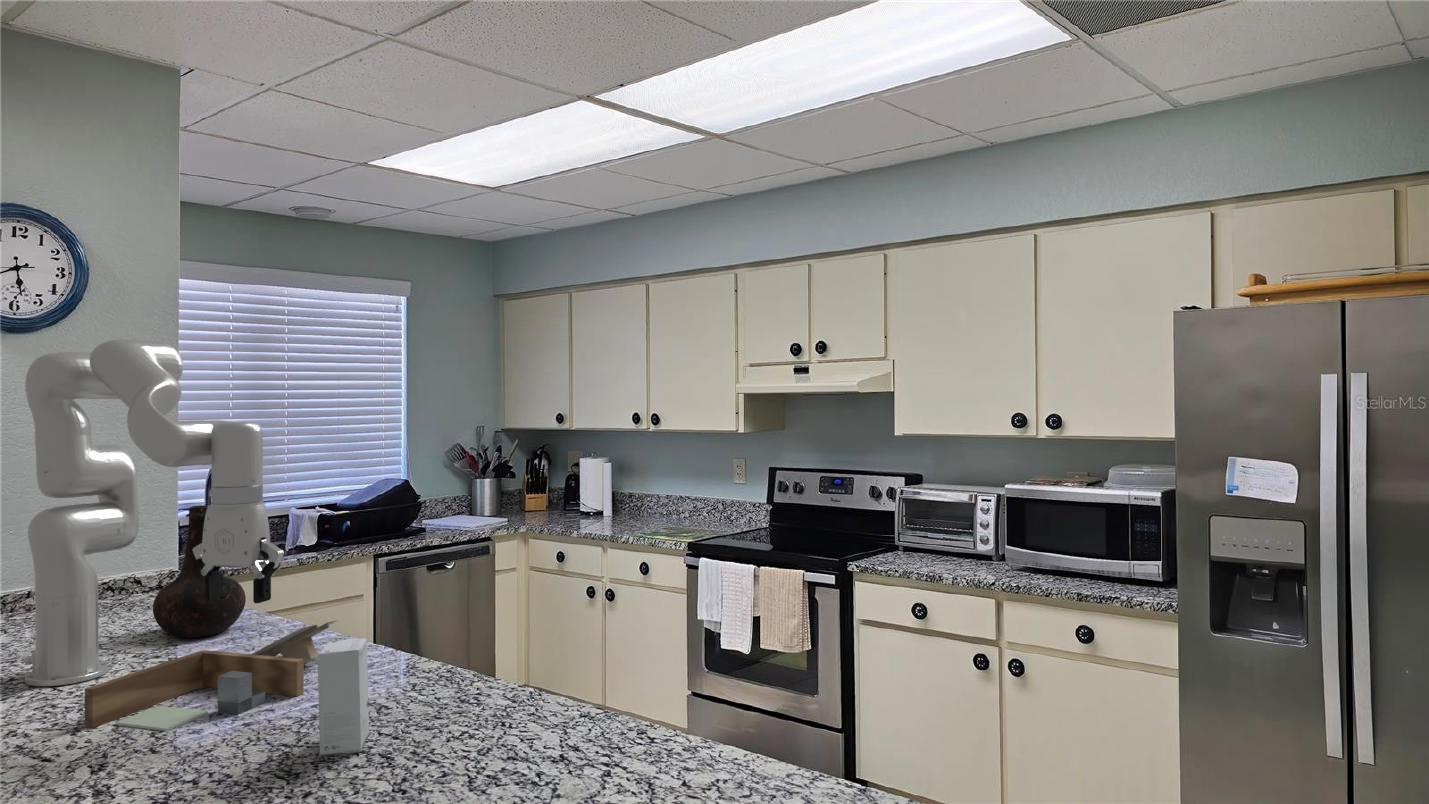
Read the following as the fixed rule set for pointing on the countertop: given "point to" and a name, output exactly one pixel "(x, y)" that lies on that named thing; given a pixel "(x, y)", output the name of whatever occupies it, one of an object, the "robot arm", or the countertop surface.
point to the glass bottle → (196, 594)
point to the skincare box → (343, 696)
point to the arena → (188, 682)
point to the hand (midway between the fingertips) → (237, 600)
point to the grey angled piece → (295, 644)
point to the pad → (161, 718)
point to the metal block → (237, 693)
